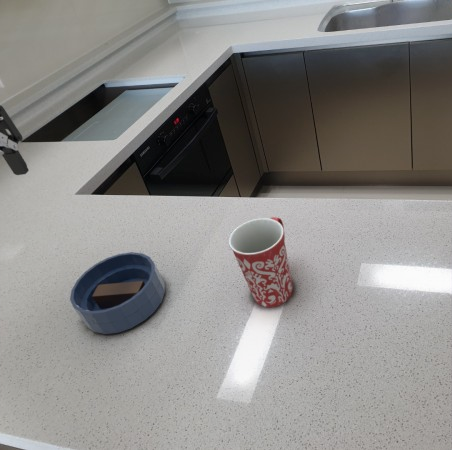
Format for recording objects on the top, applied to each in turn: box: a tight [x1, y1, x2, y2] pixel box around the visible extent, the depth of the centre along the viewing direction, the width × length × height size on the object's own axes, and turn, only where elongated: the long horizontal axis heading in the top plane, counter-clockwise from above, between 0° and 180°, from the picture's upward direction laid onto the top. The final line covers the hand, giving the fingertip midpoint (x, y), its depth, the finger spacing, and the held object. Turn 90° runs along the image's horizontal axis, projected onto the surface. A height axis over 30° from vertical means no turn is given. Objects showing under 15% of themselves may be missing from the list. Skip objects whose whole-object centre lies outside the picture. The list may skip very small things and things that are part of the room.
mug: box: [228, 216, 294, 308], centre depth 79 cm, size 13×9×14 cm
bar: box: [92, 281, 145, 309], centre depth 85 cm, size 9×3×3 cm, turn 86°
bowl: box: [69, 251, 166, 335], centre depth 85 cm, size 15×15×6 cm
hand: (7, 188), depth 69 cm, fingers open, 8 cm apart
